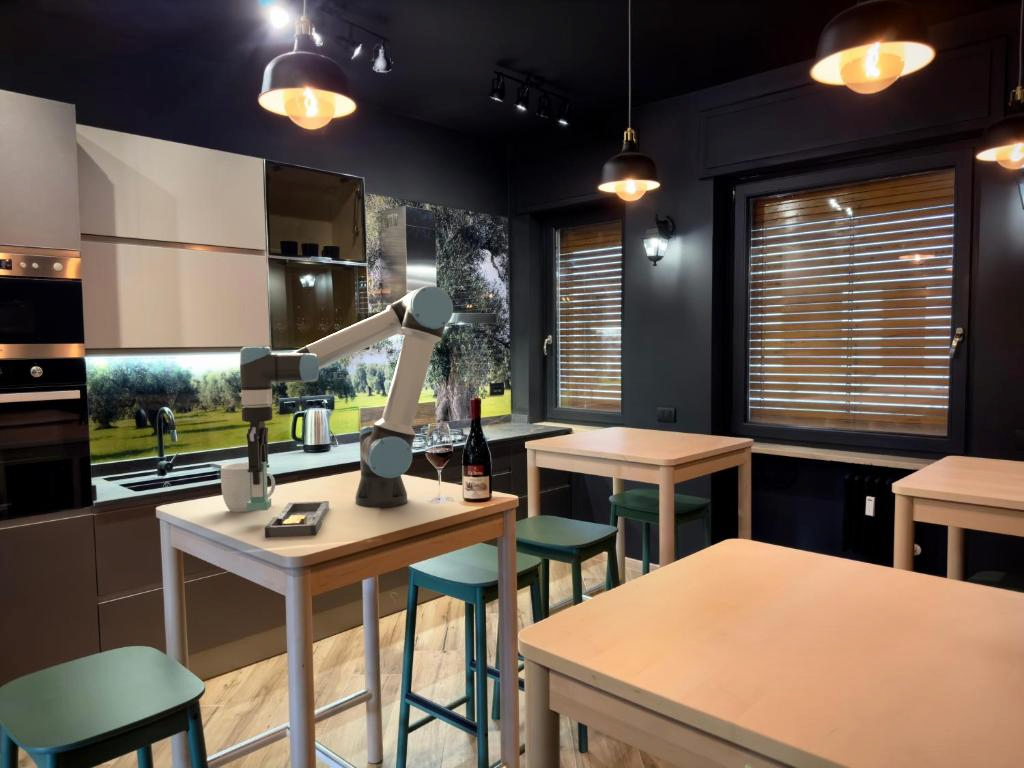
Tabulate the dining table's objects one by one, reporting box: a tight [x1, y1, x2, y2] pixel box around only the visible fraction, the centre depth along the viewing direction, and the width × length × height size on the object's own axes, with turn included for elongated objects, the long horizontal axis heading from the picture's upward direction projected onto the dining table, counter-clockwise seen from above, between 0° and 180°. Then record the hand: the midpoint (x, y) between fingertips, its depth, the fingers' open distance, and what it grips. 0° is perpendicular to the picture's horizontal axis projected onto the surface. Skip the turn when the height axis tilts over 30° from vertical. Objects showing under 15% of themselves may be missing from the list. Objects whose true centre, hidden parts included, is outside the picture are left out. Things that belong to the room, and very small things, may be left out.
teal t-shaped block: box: [246, 462, 272, 512], centre depth 180 cm, size 5×5×12 cm
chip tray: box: [264, 515, 323, 539], centre depth 173 cm, size 12×10×3 cm
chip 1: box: [282, 519, 302, 526], centre depth 173 cm, size 4×4×2 cm
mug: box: [220, 462, 276, 513], centre depth 198 cm, size 15×11×13 cm
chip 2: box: [288, 515, 307, 525], centre depth 177 cm, size 4×4×2 cm
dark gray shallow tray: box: [277, 500, 330, 526], centre depth 187 cm, size 11×18×2 cm, turn 7°
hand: (259, 494), depth 181 cm, fingers closed on teal t-shaped block, 3 cm apart
